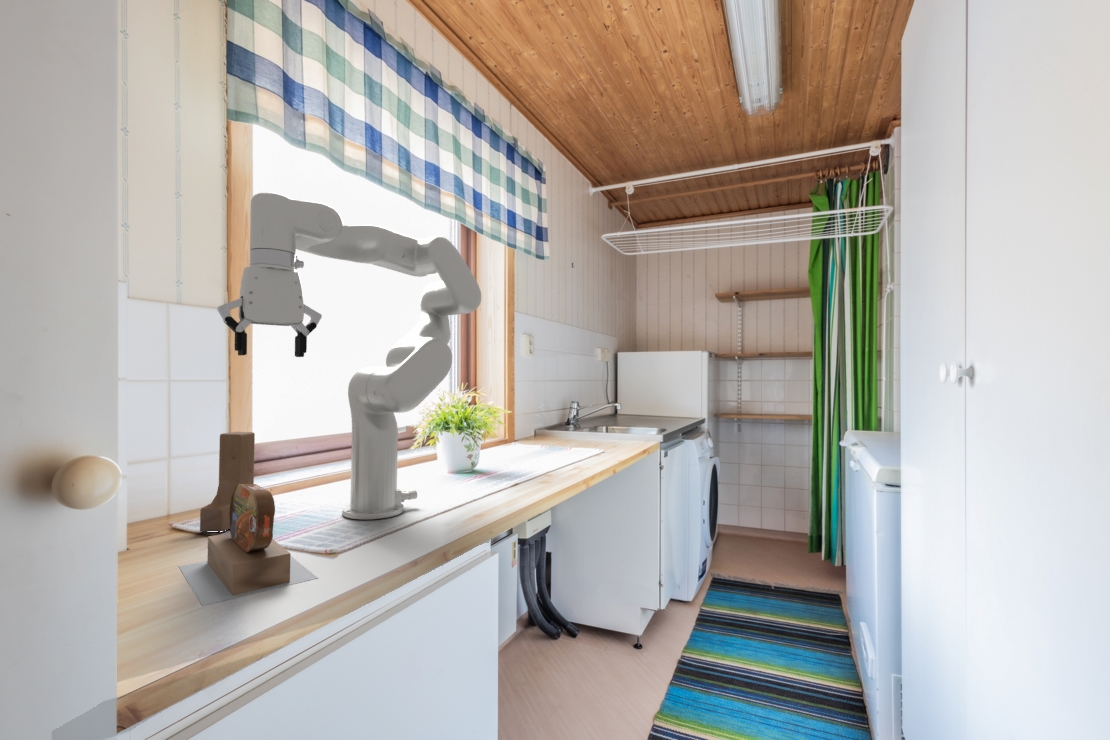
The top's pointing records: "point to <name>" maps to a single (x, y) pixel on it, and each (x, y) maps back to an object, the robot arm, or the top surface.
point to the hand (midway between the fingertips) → (271, 356)
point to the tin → (251, 517)
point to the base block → (247, 564)
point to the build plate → (215, 591)
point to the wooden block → (229, 478)
